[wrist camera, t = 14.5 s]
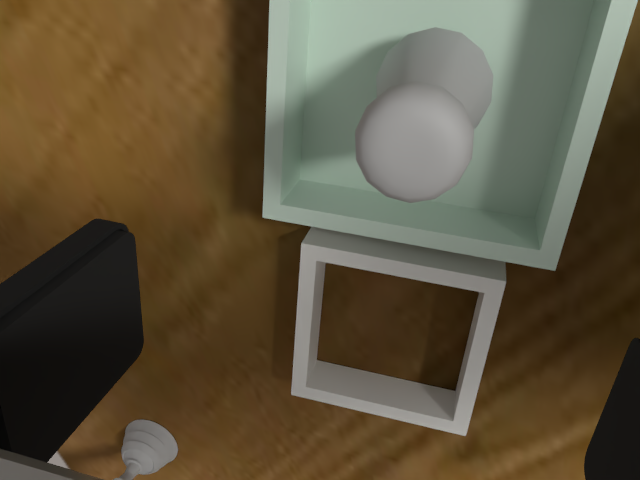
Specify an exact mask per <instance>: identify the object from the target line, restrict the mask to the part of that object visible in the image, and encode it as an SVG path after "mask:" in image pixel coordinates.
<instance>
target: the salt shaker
mask: <svg viewBox="0 0 640 480" xmlns="http://www.w3.org/2000/svg"><path fill="white" fill-rule="evenodd" d="M492 86H493V73H492V71H491V69H490V66H489V64H488V62H487V59H486V57H485V54H484V52H483V50H482V49H481V48H479V47H478V46H477V45H476V44H475V43H473V42H472V41H471V40H470V39H469V38H467V37H466V36H465V35H464V34H463V33H460V32H455V31H451V30H446V29H441V28H437V27H434V28H430V29H426V30H422V31H418V32H414V33H411V34H408V35H406V36H405V37H404V38H403V39H402V40H401V41H400V42H398V43H397V44H396V45H395V46H394V47H393V48H391V49H390V50H389V51H388V52H387V54H386V56H385V58H384V60H383V63H382V65H381V67H380V69H379V71H378V73H377V75H376V88H377V98H376V99H375V100H373V101H372V102H371V103H370V104H369V105H368V106H367V107H366V109H365V111H364V113H363V115H362V117H361V119H360V122H359V124H358V126H357V128H356V130H355V147H356V161H357V163H358V165H359V167H360V169H361V171H362V173H363V175H364V177H365V179H366V181H367V182H368V183H369V184H370V185H372V186H373V187H374V188H376V189H377V190H378V191H379V192H381V193H382V194H383V195H385V196H386V197H389V198H393V199H397V200H400V201H404V202H408V203H414V202H420V201H426V200H432V199H436V198H437V197H439V196H440V195H442V194H443V193H445V192H446V191H448V190H449V189H451V188H453V187H454V186H456V185H457V183H458V182H459V180H460V178H461V177H462V175H463V173H464V171H465V170H466V168H467V166H468V165H469V163H470V161H471V159H472V153H473V140H474V129H475V128H476V127H477V126H478V125H479V123H480V121H481V119H482V118H483V116H484V114H485V112H486V110H487V109H488V107H489V105H490V103H491V98H492Z"/></svg>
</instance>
